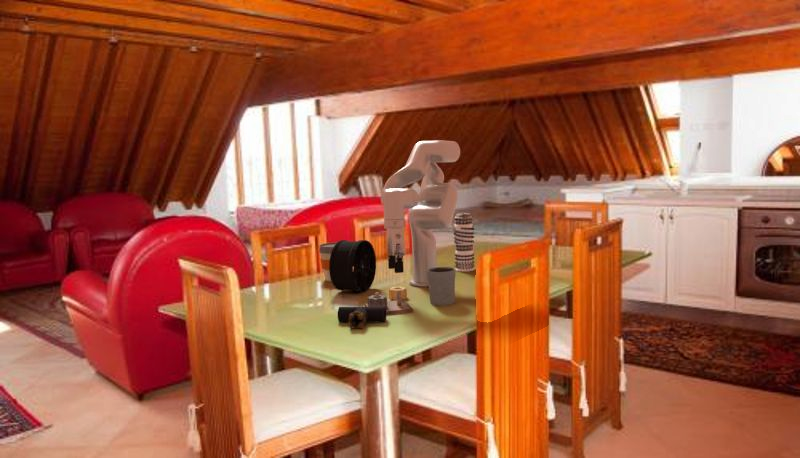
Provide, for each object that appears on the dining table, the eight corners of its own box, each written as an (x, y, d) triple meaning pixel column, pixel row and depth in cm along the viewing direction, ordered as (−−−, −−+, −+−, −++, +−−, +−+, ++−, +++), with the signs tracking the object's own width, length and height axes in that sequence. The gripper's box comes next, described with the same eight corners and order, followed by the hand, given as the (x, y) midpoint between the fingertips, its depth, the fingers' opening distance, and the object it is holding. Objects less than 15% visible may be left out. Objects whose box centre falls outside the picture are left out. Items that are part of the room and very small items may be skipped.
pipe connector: (379, 313, 196) (331, 313, 199) (379, 330, 197) (332, 329, 200) (386, 304, 208) (341, 304, 210) (386, 320, 208) (342, 320, 211)
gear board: (403, 303, 228) (403, 286, 227) (413, 311, 216) (412, 294, 215) (365, 307, 225) (364, 289, 224) (372, 316, 212) (371, 298, 212)
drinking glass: (437, 307, 220) (436, 273, 218) (422, 301, 229) (421, 268, 227) (462, 303, 225) (461, 269, 223) (447, 297, 234) (445, 265, 232)
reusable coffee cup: (315, 281, 271) (313, 246, 269) (329, 275, 283) (327, 242, 281) (341, 282, 267) (339, 247, 265) (355, 276, 278) (353, 242, 276)
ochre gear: (404, 295, 240) (404, 285, 240) (408, 298, 234) (408, 289, 234) (387, 296, 239) (387, 287, 238) (391, 300, 232) (391, 291, 232)
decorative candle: (479, 268, 285) (477, 212, 281) (469, 272, 277) (468, 214, 274) (460, 266, 290) (458, 212, 286) (451, 270, 282) (449, 214, 278)
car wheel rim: (354, 297, 241) (351, 244, 238) (330, 295, 245) (327, 244, 242) (377, 285, 259) (374, 236, 256) (355, 284, 263) (352, 236, 260)
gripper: (410, 225, 225) (411, 273, 227) (398, 221, 242) (400, 266, 243) (389, 226, 223) (391, 275, 225) (379, 222, 240) (380, 267, 242)
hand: (395, 270), depth 234 cm, fingers open, 9 cm apart
